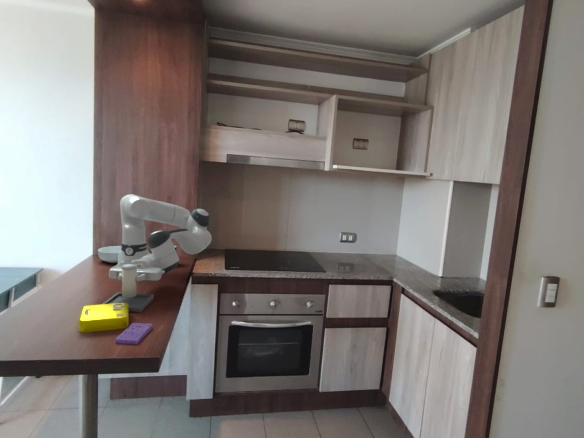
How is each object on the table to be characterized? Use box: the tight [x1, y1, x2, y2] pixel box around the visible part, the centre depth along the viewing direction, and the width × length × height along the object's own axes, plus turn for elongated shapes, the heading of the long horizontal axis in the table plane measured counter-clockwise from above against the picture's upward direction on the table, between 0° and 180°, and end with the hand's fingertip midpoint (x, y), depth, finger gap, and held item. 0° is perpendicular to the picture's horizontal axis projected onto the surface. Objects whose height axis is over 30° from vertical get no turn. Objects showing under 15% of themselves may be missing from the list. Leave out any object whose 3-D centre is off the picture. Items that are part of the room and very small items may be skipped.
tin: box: [121, 264, 137, 298], centre depth 146 cm, size 5×5×12 cm
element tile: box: [78, 303, 130, 333], centre depth 130 cm, size 15×15×5 cm
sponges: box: [114, 322, 153, 345], centre depth 122 cm, size 7×13×2 cm, turn 179°
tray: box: [102, 292, 155, 313], centre depth 147 cm, size 15×15×2 cm
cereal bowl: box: [97, 245, 122, 264], centre depth 207 cm, size 17×17×7 cm
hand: (128, 278), depth 145 cm, fingers closed on tin, 5 cm apart
